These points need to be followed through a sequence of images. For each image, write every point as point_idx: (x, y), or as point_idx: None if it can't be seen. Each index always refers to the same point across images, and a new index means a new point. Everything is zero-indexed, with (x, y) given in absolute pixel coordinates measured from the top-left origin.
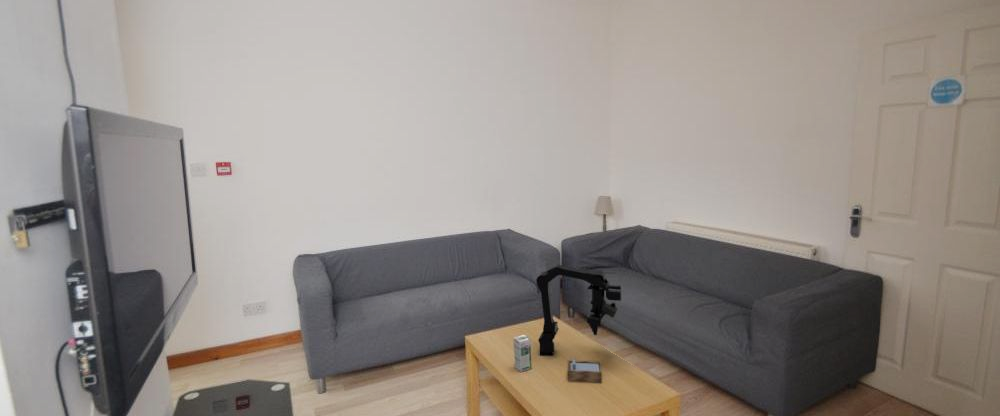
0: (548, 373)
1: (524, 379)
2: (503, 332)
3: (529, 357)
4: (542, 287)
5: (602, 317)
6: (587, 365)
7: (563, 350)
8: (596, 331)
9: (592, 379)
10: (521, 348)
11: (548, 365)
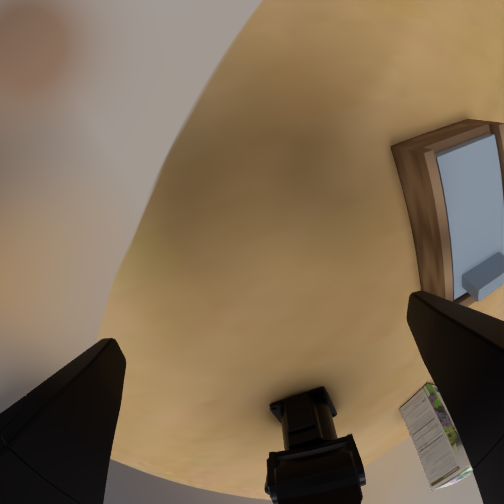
0: None
1: None
2: (236, 489)
3: (447, 414)
4: None
5: (18, 441)
6: (466, 212)
7: (253, 377)
8: (477, 320)
9: None
10: None
11: (399, 362)
